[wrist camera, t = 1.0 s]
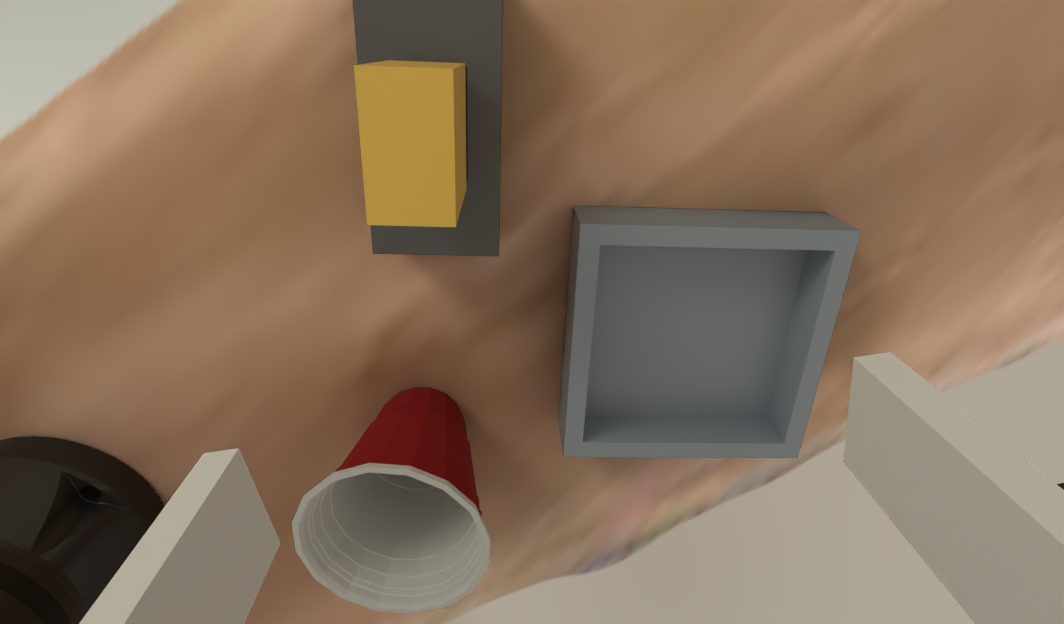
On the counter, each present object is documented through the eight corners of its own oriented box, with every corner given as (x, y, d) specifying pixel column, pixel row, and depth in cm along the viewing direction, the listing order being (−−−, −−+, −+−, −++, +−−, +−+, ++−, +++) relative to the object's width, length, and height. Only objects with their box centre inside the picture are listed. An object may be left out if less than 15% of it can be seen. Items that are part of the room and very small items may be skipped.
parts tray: (558, 421, 43) (563, 457, 39) (573, 205, 36) (580, 223, 32) (773, 423, 44) (797, 458, 40) (826, 212, 37) (861, 230, 33)
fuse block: (386, 232, 36) (372, 253, 33) (368, -28, 30) (349, -37, 27) (499, 235, 37) (498, 256, 33) (503, -22, 31) (502, -30, 27)
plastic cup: (325, 365, 40) (257, 486, 29) (481, 344, 40) (472, 458, 29) (365, 488, 45) (319, 632, 34) (505, 469, 44) (505, 608, 33)
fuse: (410, 168, 35) (367, 225, 24) (405, 57, 32) (354, 65, 21) (471, 169, 35) (455, 227, 24) (471, 60, 32) (453, 69, 22)
